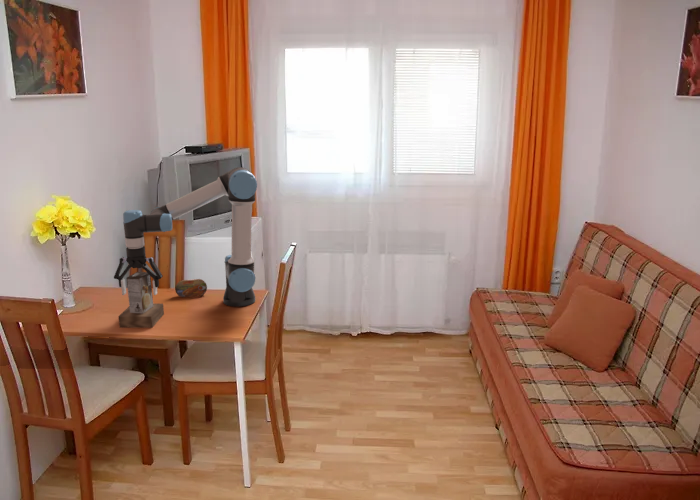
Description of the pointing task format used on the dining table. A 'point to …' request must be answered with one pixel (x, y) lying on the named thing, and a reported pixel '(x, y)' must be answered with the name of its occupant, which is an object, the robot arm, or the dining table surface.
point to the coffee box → (139, 292)
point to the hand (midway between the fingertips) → (139, 294)
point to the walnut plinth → (141, 317)
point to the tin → (191, 288)
